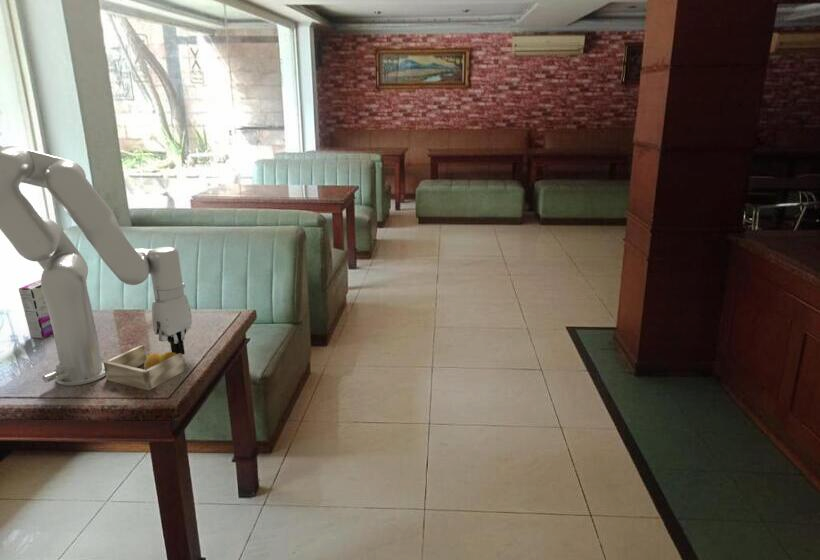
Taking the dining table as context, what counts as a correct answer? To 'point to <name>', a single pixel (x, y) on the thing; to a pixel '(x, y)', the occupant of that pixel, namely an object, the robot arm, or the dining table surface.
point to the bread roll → (157, 359)
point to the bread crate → (128, 374)
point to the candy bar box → (36, 310)
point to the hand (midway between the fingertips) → (178, 354)
